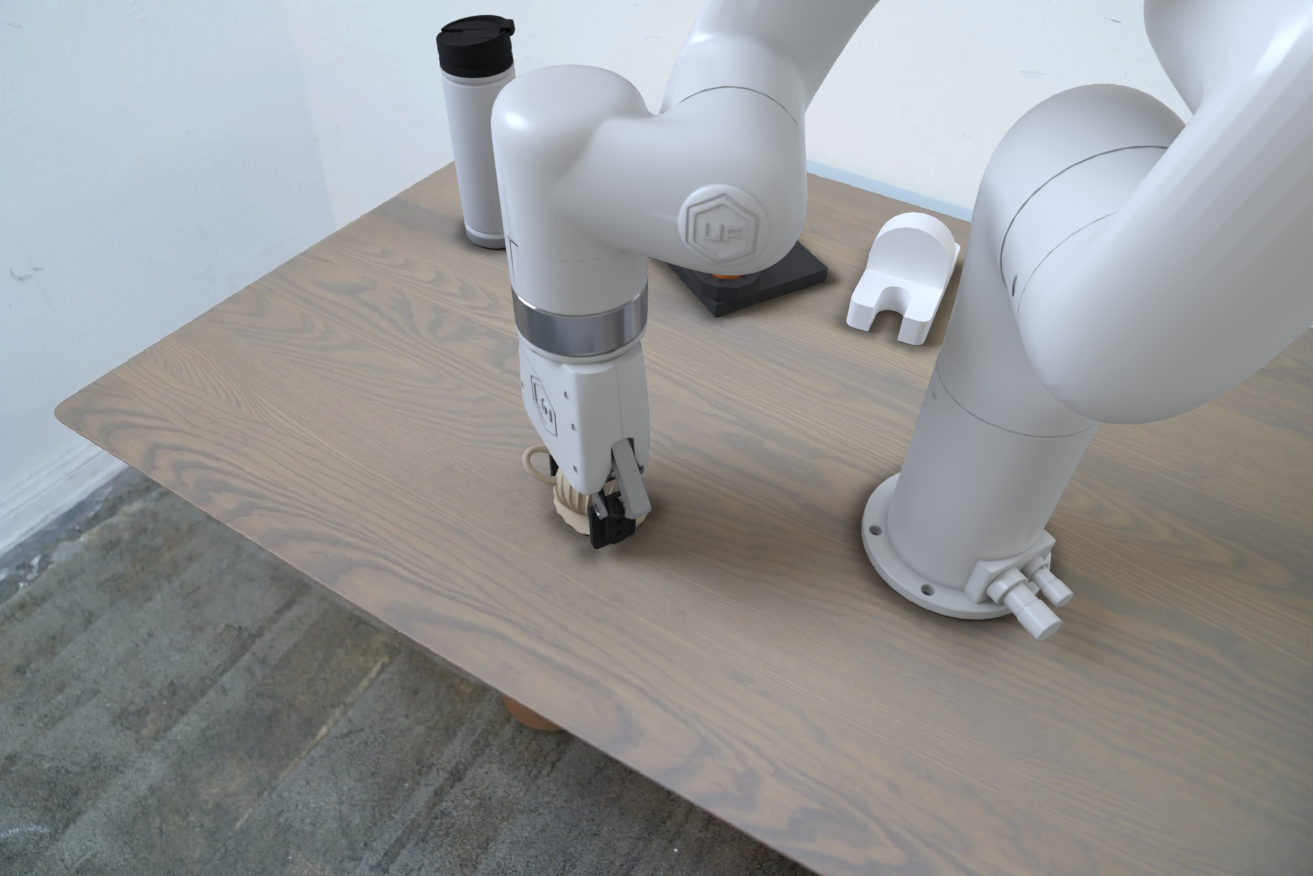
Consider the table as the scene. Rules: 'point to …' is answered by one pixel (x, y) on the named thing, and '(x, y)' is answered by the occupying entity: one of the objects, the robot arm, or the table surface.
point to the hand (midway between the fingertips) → (592, 504)
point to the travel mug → (476, 114)
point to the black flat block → (754, 282)
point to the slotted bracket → (906, 275)
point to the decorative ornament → (569, 494)
